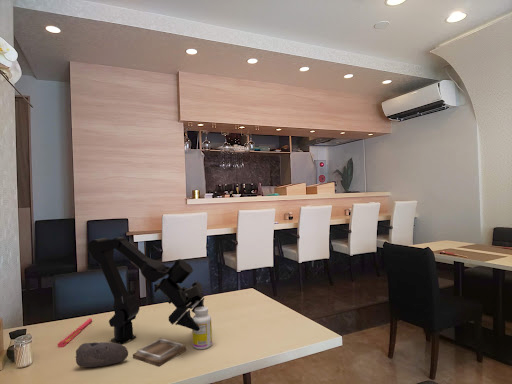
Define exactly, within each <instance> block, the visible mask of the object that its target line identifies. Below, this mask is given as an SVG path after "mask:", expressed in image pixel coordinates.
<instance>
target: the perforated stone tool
mask: <svg viewBox="0 0 512 384" xmlns="http://www.w3.org/2000/svg"><path fill="white" fill-rule="evenodd" d="M128 355H129V351H128V348H127V347H126V346H124V345H123V344H119V343H116V342H110V341H109V342H105V341H101V342H98V341H97V342H86V343H82V344H81V345H79V346H78V348H77V349H76V350H75V362H76V364H77V366H79V367H80V368H97V367H104V366H110V365H115V364H118V363H121V362H123V361H125V360H126V359H127V357H128Z"/></svg>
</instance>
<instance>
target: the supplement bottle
mask: <svg viewBox="0 0 512 384" xmlns="http://www.w3.org/2000/svg"><path fill="white" fill-rule="evenodd" d="M193 314H195V315H193V317H192V319H193V320H194V321H195V323H196V324H197V325H198V327H199V328H200V329H199V331H195V330H192V329H191V330H192V332H191V333H192V347H193V348H194V349H196V350H206V349H208V348H210V347H211V346H212V345H213V334H212V333H213V331H212V316H211V315H210V314H209V307H207V306H204V307H197V308H195V312H193Z"/></svg>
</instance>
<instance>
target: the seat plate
mask: <svg viewBox="0 0 512 384" xmlns="http://www.w3.org/2000/svg"><path fill="white" fill-rule="evenodd" d="M185 351H187V346H186V345H183V343H181V342H180V343H179V342H176V341H173V340H168V339H166V338H165V339H164V338H162V337H160V338H158V339H156V340H155V341H153V342H151V343H149V344H146V345H145V346H143V347H141V348H139V349H137V350H136V352H135V353H133V354H132V358H133V359H135V360H139V361H142V362H144V363H148V364H150V365H154V366H157V367H160V366H163V365H164V364H166V363H168V362H169V361H171V360H173V359H174V358H175V357H177V356H179V355H181V354H182V353H184V352H185Z"/></svg>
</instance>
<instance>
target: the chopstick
mask: <svg viewBox="0 0 512 384" xmlns="http://www.w3.org/2000/svg"><path fill="white" fill-rule="evenodd" d="M92 322H93V318H91V317H88V319H86V320H85V321H84V322H82V323H81V324H80V325H79V326H78V327H77V328H75V329H74V330H73V331H71V332H70V333H69V334H67V336H65V337H63V339H62V340H60V341H59V342H58V343H57V347H58V348H64V347H65V346H66V345H67V344H69V343H70V342H71V340H73V339H74V338H75V337H76V336H77V335H78V334H80V332H82V331H83V330H84V329H85V328H86V327H88V326H89V325H90V324H91V323H92Z"/></svg>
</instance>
